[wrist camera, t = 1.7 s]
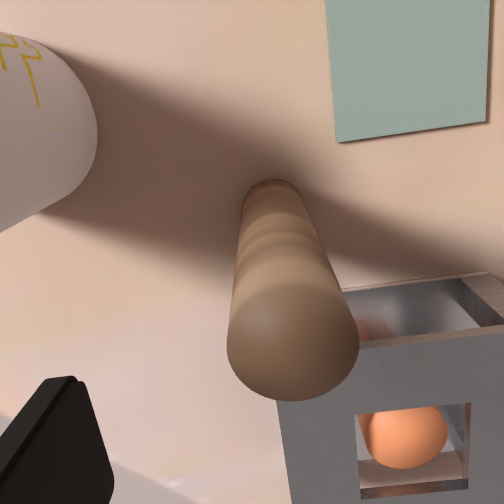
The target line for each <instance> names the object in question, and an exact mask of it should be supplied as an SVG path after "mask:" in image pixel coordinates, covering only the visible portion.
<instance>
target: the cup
mask: <svg viewBox="0 0 504 504" xmlns="http://www.w3.org/2000/svg"><path fill="white" fill-rule="evenodd" d="M97 142H98V130H97V121H96V116H95V112H94V109H93V105H92V103H91V100H90V98H89V96H88V93H87V91H86V90H85V88H84V86H83V84H82V83H81V81H80V80H79V78H78V77H77V75H76V74H75V73H74V72H73V70H72V69H71V68H70V67H69V66H68V65H67V64H66V63H65V62H64V61H63V60H62V59H61V58H60V57H58V56H57V55H56V54H55V53H53V52H52V51H50V50H49V49H47V48H46V47H44V46H42V45H41V44H39V43H37V42H34V41H32V40H30V39H27V38H24V37H21V36H17V35H12V34H8V33H4V32H0V233H1V232H3V231H5V230H6V229H8V228H10V227H12V226H14V225H15V224H17V223H19V222H21V221H23V220H24V219H26V218H28V217H30V216H32V215H33V214H35V213H37V212H39V211H41V210H42V209H44V208H46V207H48V206H50V205H52V204H53V203H55V202H57V201H59V200H61V199H62V198H64V197H66V196H67V195H69V194H70V193H72V192H73V191H74V190H75V189H76V188H77V187H78V186H79V185H80V184H81V183H82V182H83V181H84V179H85V178H86V176H87V175H88V173H89V171H90V169H91V167H92V165H93V162H94V159H95V155H96V150H97Z"/></svg>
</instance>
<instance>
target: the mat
mask: <svg viewBox="0 0 504 504" xmlns="http://www.w3.org/2000/svg"><path fill="white" fill-rule="evenodd" d="M325 3H326V16H327V29H328V42H329V55H330V68H331V81H332V94H333V107H334V120H335V133H336V142H344V141H351V140H358V139H365V138H372V137H379V136H386V135H392V134H399V133H406V132H413V131H420V130H427V129H434V128H440V127H447V126H454V125H461V124H468V123H475V122H482V121H485V118H486V90H487V63H488V36H489V8H490V0H325Z"/></svg>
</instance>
